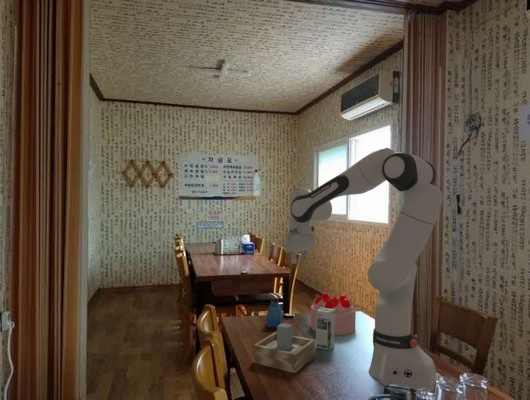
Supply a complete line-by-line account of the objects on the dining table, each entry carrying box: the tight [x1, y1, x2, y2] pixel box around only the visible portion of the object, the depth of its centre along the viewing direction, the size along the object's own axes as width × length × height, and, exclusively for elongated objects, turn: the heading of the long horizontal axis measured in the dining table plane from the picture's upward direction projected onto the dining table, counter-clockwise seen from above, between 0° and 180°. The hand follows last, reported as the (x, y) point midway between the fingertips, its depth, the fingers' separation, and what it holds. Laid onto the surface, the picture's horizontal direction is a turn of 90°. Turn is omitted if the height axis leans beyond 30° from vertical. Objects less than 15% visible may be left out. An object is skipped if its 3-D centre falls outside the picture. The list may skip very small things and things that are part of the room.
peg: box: [276, 322, 294, 352], centre depth 137 cm, size 4×4×12 cm
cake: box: [309, 292, 357, 337], centre depth 172 cm, size 20×20×14 cm
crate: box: [252, 331, 316, 374], centre depth 137 cm, size 16×16×6 cm
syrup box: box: [315, 308, 335, 352], centre depth 150 cm, size 6×6×14 cm
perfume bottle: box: [265, 297, 284, 329], centre depth 175 cm, size 6×6×12 cm
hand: (299, 262), depth 159 cm, fingers open, 8 cm apart
